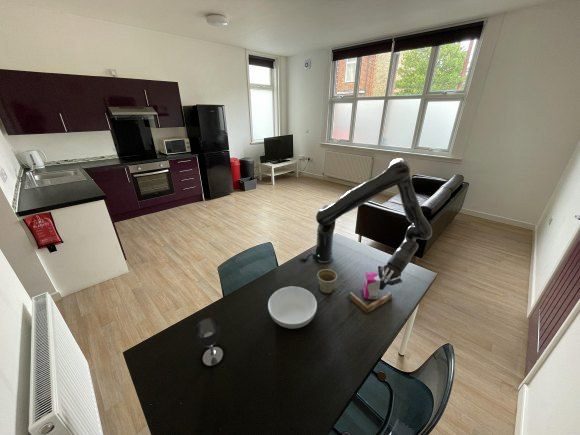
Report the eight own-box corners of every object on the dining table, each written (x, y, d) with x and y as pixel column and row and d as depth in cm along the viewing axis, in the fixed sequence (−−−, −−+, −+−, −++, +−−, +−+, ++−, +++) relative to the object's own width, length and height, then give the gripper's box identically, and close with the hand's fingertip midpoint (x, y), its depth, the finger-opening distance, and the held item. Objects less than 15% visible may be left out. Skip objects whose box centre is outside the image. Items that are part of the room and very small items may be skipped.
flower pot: (314, 292, 116) (315, 278, 113) (319, 280, 124) (320, 267, 121) (333, 298, 113) (334, 283, 109) (337, 285, 121) (338, 271, 117)
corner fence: (366, 313, 105) (367, 308, 103) (349, 298, 113) (349, 293, 112) (391, 298, 112) (392, 294, 111) (373, 285, 121) (374, 280, 120)
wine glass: (212, 371, 82) (205, 341, 76) (196, 359, 86) (189, 330, 80) (228, 352, 88) (223, 323, 82) (213, 342, 92) (208, 314, 86)
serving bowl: (258, 316, 104) (257, 304, 101) (291, 291, 117) (291, 280, 115) (294, 345, 91) (294, 333, 88) (326, 313, 105) (327, 302, 102)
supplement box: (374, 291, 117) (378, 272, 112) (377, 300, 112) (381, 281, 107) (362, 290, 118) (365, 271, 113) (364, 299, 112) (367, 280, 107)
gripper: (385, 249, 116) (365, 278, 115) (410, 263, 105) (388, 295, 105) (390, 255, 120) (371, 283, 120) (415, 269, 110) (394, 299, 110)
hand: (379, 289), depth 112 cm, fingers closed
